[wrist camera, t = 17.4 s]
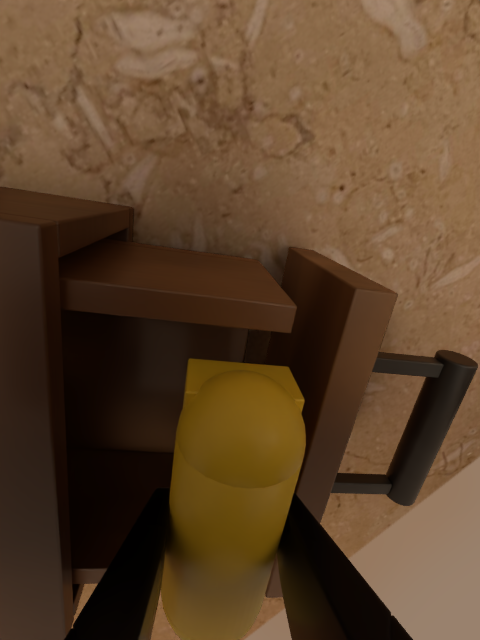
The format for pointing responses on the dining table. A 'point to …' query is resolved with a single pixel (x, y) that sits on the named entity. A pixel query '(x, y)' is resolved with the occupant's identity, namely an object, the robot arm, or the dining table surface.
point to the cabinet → (38, 406)
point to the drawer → (226, 345)
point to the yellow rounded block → (229, 494)
